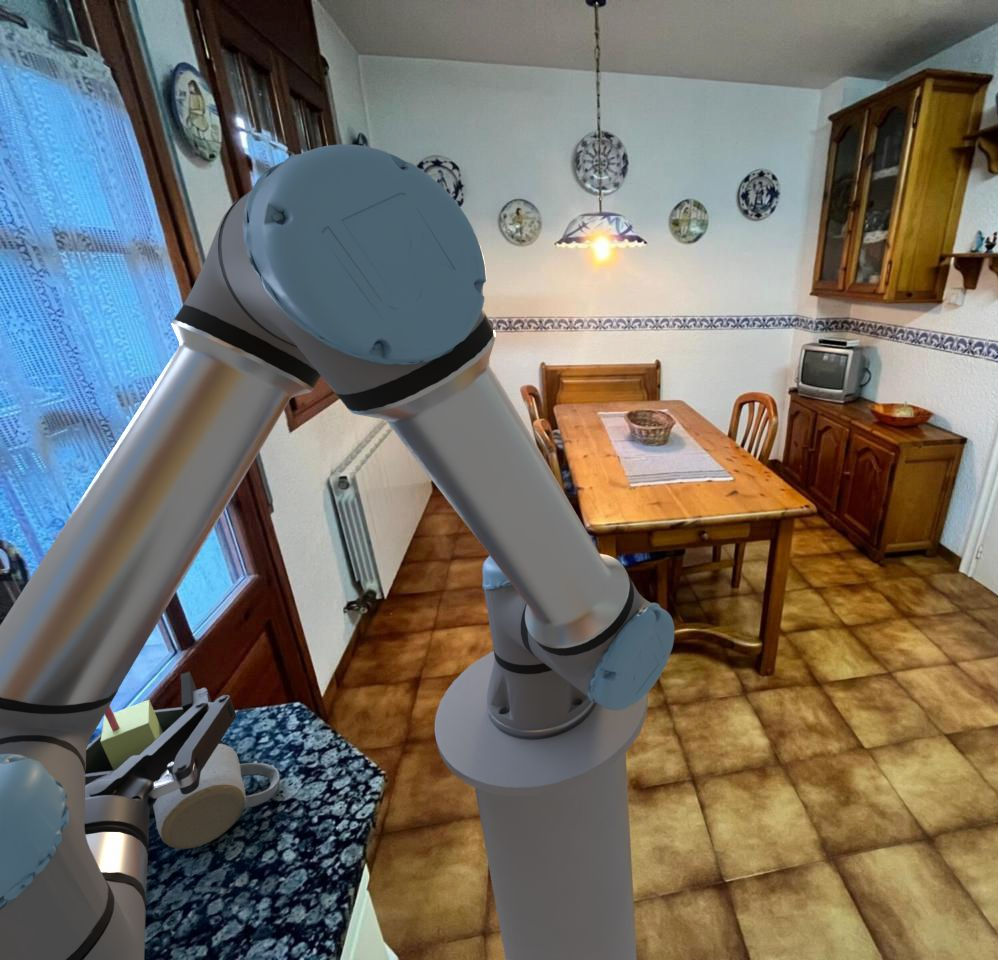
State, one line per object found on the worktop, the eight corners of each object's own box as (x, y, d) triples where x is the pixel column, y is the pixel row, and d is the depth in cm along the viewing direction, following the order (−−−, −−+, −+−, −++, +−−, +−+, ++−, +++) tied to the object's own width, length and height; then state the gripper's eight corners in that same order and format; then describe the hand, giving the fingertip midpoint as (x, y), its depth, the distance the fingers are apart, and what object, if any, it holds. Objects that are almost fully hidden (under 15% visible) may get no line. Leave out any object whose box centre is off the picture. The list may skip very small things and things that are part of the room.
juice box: (173, 755, 66) (134, 664, 62) (173, 781, 63) (133, 686, 58) (130, 774, 64) (87, 680, 59) (128, 802, 60) (82, 704, 56)
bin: (222, 743, 69) (208, 703, 67) (168, 812, 59) (148, 769, 57) (139, 753, 67) (122, 713, 65) (70, 825, 58) (47, 781, 56)
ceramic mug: (171, 871, 53) (147, 815, 50) (162, 820, 58) (140, 767, 56) (290, 802, 60) (274, 750, 58) (273, 762, 65) (258, 713, 63)
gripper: (-198, 1070, 31) (-77, 821, 46) (291, 806, 46) (260, 685, 61) (-275, 992, 28) (-120, 756, 44) (268, 741, 44) (242, 632, 59)
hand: (102, 715), depth 52 cm, fingers open, 13 cm apart
